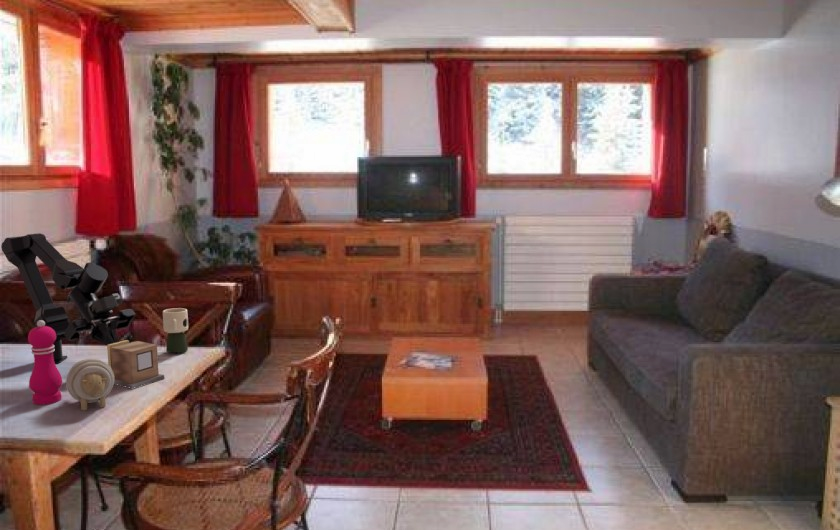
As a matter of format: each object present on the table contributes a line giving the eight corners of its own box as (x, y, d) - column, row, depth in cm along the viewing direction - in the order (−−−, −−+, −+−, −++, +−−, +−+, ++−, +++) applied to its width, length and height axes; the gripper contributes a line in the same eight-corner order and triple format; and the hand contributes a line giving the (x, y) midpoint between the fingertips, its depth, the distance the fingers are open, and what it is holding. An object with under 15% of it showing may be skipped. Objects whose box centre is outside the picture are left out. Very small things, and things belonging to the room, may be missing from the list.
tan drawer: (108, 370, 194) (107, 344, 193) (128, 365, 199) (126, 340, 198) (135, 376, 188) (134, 350, 187) (155, 370, 193) (153, 345, 192)
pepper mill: (50, 406, 173) (43, 324, 170) (23, 404, 175) (16, 322, 172) (70, 396, 180) (64, 317, 177) (44, 394, 182) (38, 316, 179)
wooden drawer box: (88, 378, 195) (86, 344, 194) (121, 368, 204) (118, 336, 202) (132, 388, 186) (130, 353, 185) (164, 378, 195) (162, 344, 193)
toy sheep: (74, 418, 165) (71, 370, 164) (61, 398, 179) (58, 354, 177) (123, 408, 171) (120, 363, 170) (107, 390, 185) (104, 347, 184)
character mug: (188, 355, 217) (186, 313, 215) (163, 357, 215) (161, 314, 213) (190, 346, 227) (188, 306, 225) (166, 348, 226) (163, 307, 224)
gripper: (67, 290, 188) (97, 337, 184) (129, 280, 204) (158, 323, 200) (51, 317, 193) (80, 363, 189) (113, 305, 209) (141, 347, 205)
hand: (116, 348), depth 195 cm, fingers closed, pressing on tan drawer
